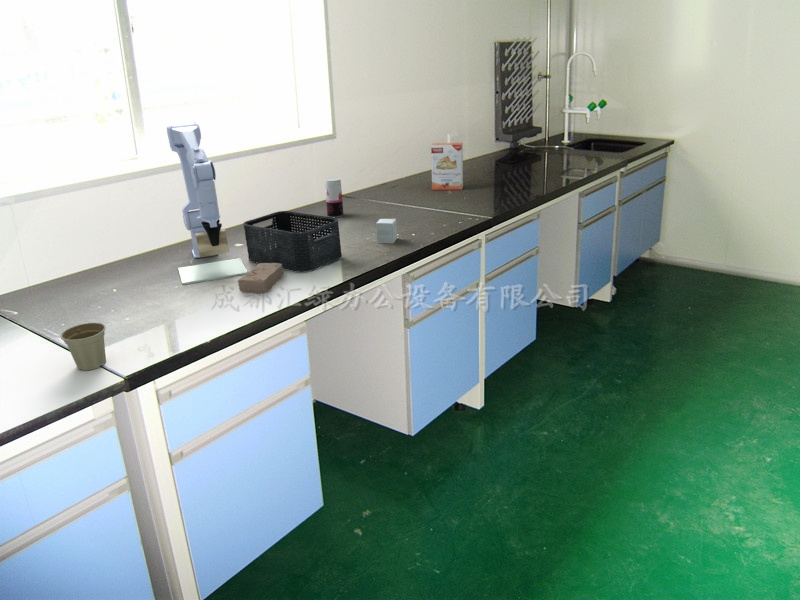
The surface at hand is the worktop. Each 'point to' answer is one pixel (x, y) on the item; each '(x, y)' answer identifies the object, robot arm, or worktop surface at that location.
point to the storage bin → (293, 241)
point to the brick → (261, 278)
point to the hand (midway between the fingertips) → (214, 244)
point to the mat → (212, 271)
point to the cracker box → (447, 166)
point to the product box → (386, 231)
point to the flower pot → (86, 345)
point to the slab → (207, 248)
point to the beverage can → (334, 197)
